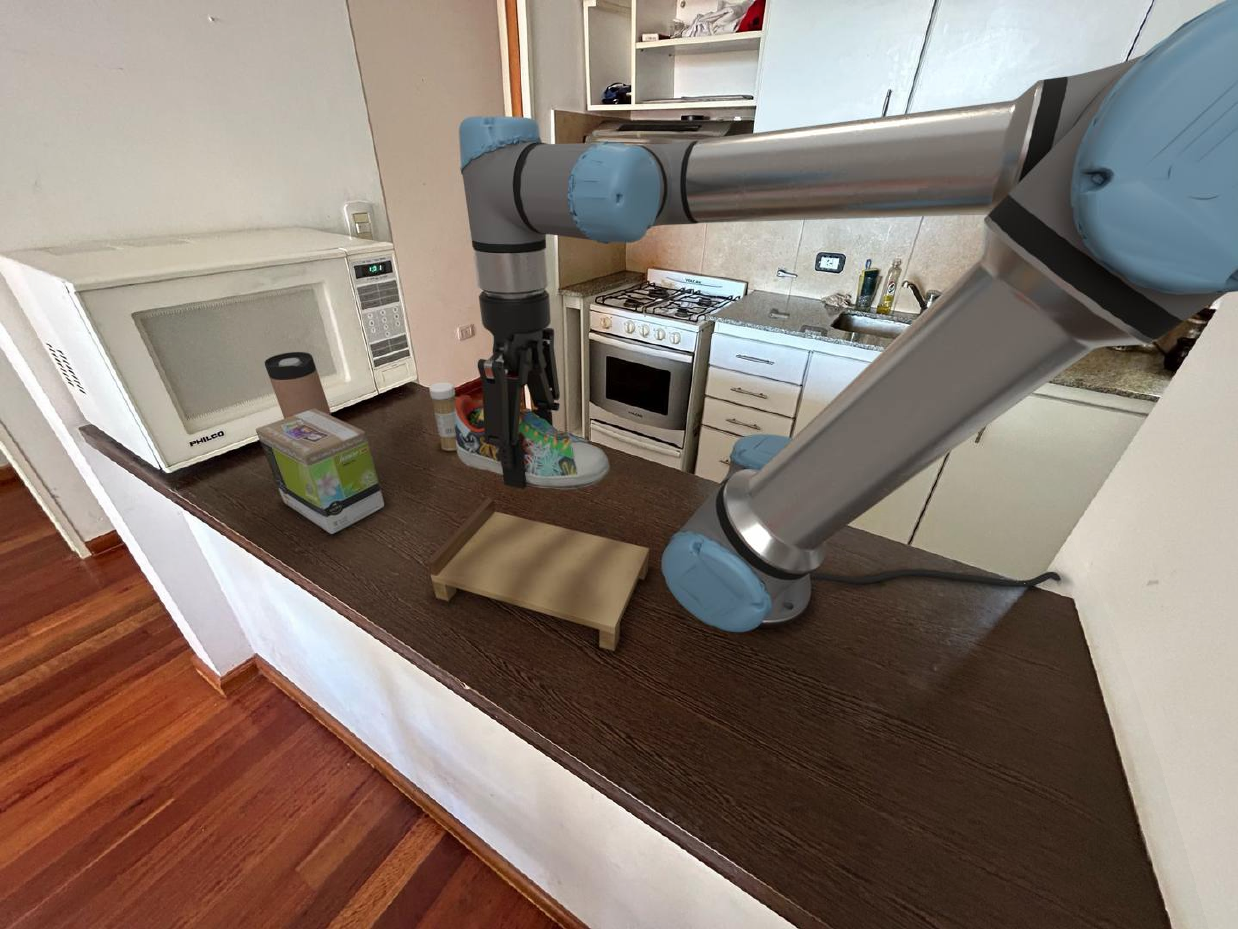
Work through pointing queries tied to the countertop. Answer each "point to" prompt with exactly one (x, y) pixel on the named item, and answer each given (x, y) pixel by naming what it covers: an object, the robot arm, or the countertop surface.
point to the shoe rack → (541, 569)
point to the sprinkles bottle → (444, 413)
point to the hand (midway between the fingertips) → (530, 468)
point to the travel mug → (296, 383)
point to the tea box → (322, 468)
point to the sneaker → (530, 449)
